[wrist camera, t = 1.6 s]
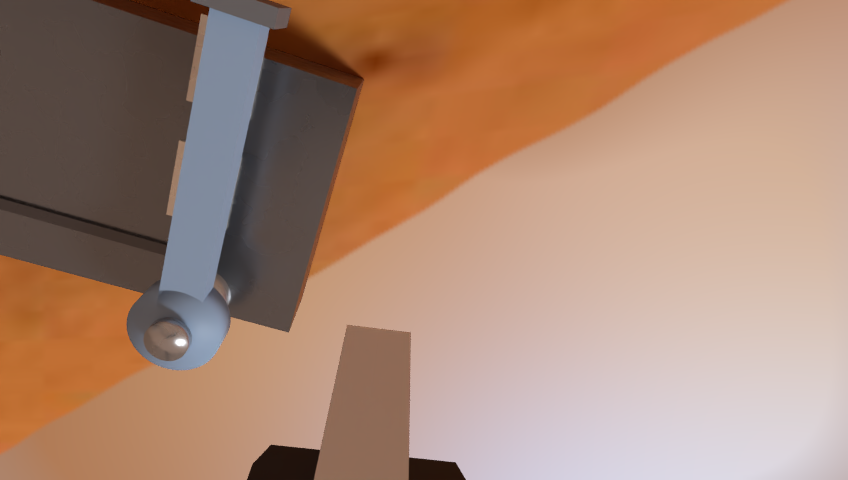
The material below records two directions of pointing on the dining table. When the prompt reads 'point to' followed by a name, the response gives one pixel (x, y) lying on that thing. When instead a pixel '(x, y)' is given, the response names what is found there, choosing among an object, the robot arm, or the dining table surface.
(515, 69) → the dining table surface
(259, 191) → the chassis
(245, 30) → the swing bar
